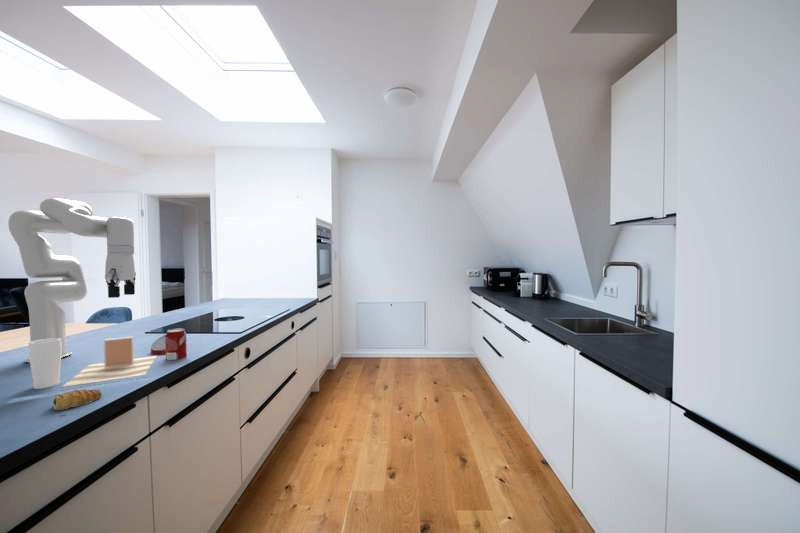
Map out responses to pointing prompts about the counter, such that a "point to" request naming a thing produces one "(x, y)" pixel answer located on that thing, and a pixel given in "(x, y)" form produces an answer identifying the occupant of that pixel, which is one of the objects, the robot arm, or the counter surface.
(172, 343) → the soda can
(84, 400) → the pastry
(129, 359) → the block
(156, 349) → the canned food
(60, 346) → the drinking glass
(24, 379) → the counter surface
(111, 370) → the board
